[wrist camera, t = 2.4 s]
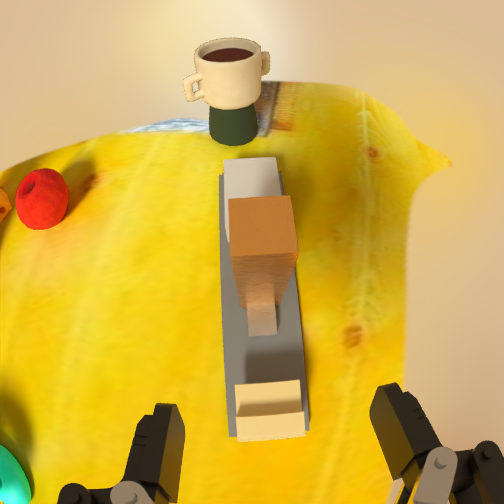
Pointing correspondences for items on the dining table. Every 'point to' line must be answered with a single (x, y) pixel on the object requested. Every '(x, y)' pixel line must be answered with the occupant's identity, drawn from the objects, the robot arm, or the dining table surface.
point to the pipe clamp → (4, 204)
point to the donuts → (12, 480)
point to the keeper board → (260, 348)
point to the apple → (42, 199)
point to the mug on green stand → (229, 86)
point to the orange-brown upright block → (262, 256)
